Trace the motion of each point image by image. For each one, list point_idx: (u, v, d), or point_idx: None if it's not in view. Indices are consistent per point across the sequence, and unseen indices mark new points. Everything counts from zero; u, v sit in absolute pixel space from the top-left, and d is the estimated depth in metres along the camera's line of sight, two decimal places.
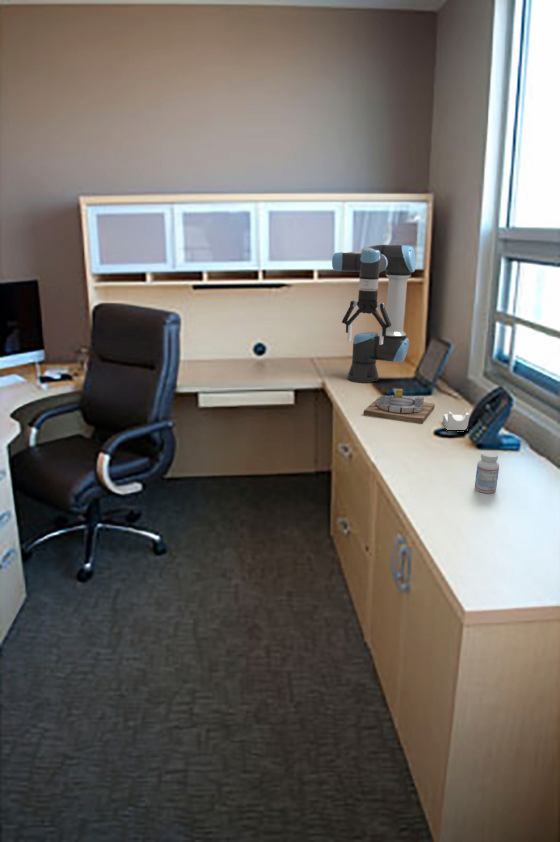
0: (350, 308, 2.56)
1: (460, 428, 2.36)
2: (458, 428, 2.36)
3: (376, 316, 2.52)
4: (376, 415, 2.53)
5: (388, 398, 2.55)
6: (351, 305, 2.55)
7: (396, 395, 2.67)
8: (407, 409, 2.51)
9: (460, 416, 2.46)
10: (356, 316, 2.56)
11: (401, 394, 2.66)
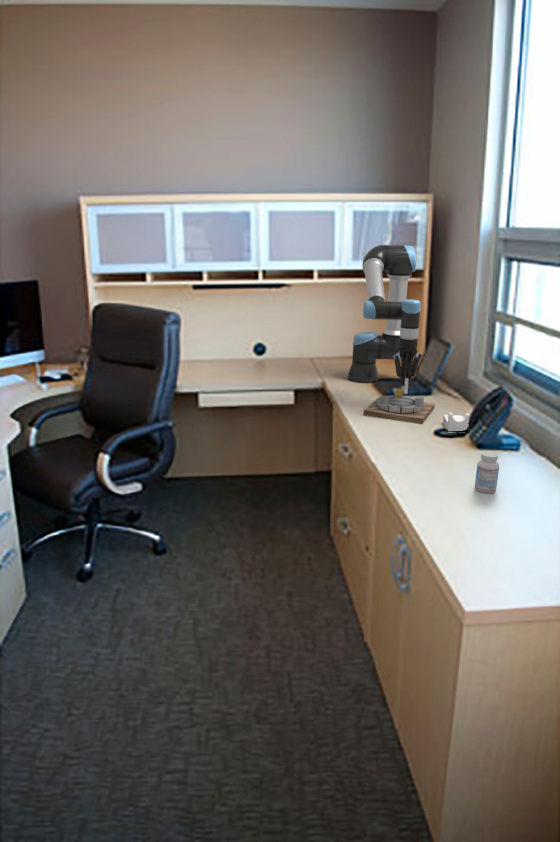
0: None
1: (460, 429, 2.35)
2: (459, 429, 2.35)
3: None
4: (376, 415, 2.53)
5: (388, 398, 2.55)
6: None
7: (396, 395, 2.67)
8: (407, 409, 2.51)
9: (460, 417, 2.45)
10: (407, 365, 2.65)
11: (401, 394, 2.66)
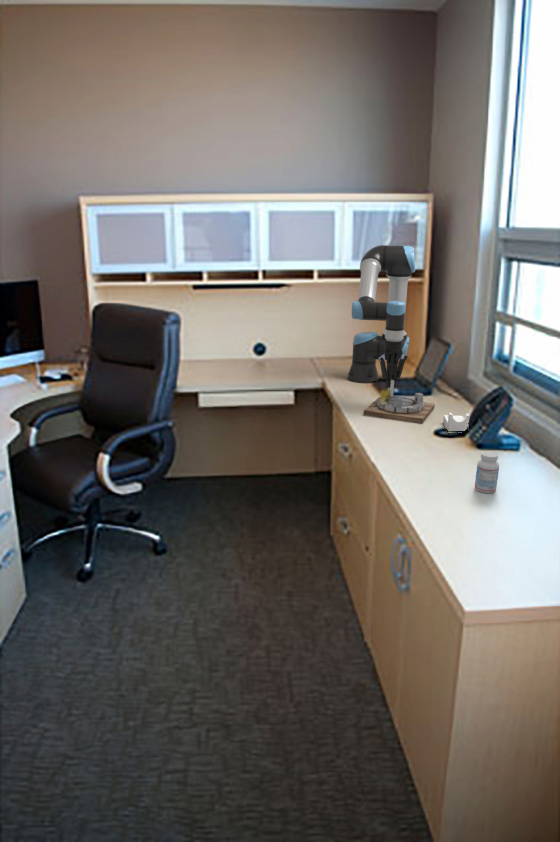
0: None
1: (460, 429, 2.35)
2: (459, 429, 2.35)
3: None
4: (376, 415, 2.53)
5: (402, 400, 2.52)
6: None
7: (386, 396, 2.64)
8: (421, 407, 2.55)
9: (460, 417, 2.44)
10: (393, 367, 2.63)
11: (389, 394, 2.65)
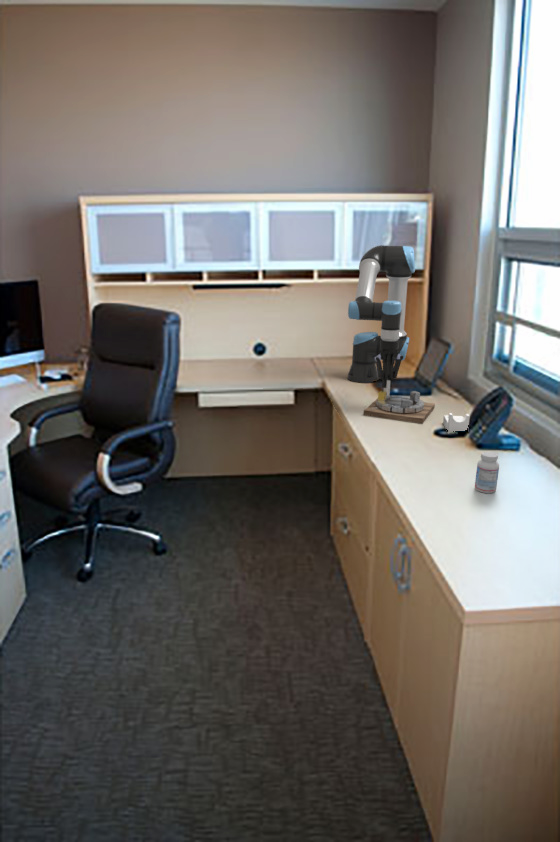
0: None
1: (461, 429, 2.34)
2: (459, 429, 2.34)
3: None
4: (376, 415, 2.53)
5: None
6: None
7: (384, 398, 2.62)
8: (423, 405, 2.58)
9: (460, 417, 2.44)
10: (389, 367, 2.62)
11: (385, 395, 2.64)
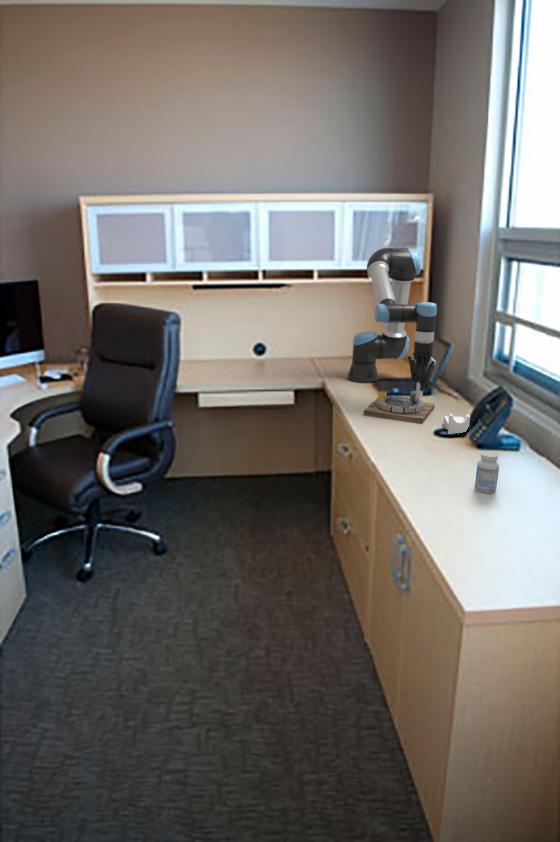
0: None
1: (461, 430, 2.33)
2: (459, 430, 2.33)
3: None
4: (376, 415, 2.53)
5: None
6: None
7: (384, 398, 2.62)
8: (423, 405, 2.58)
9: (461, 418, 2.43)
10: None
11: (385, 395, 2.64)
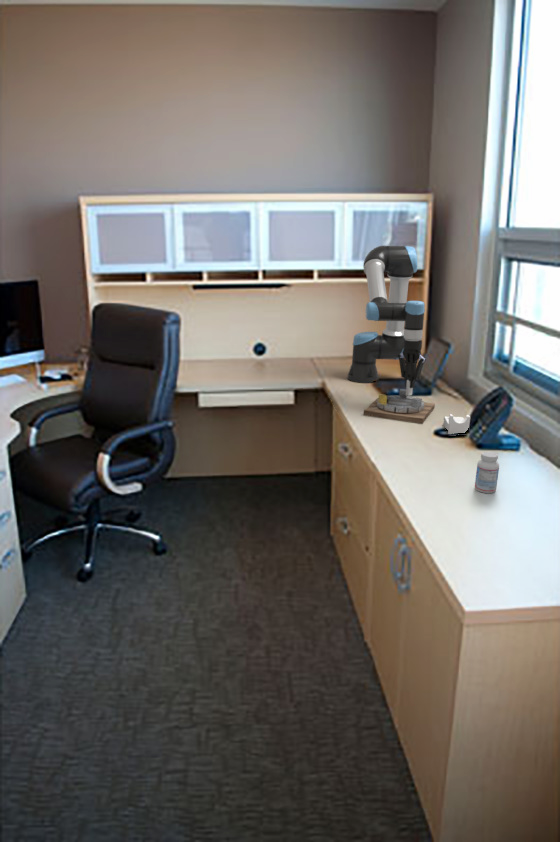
0: None
1: (461, 430, 2.33)
2: (459, 430, 2.33)
3: None
4: (376, 415, 2.53)
5: None
6: None
7: None
8: None
9: (461, 418, 2.43)
10: None
11: None
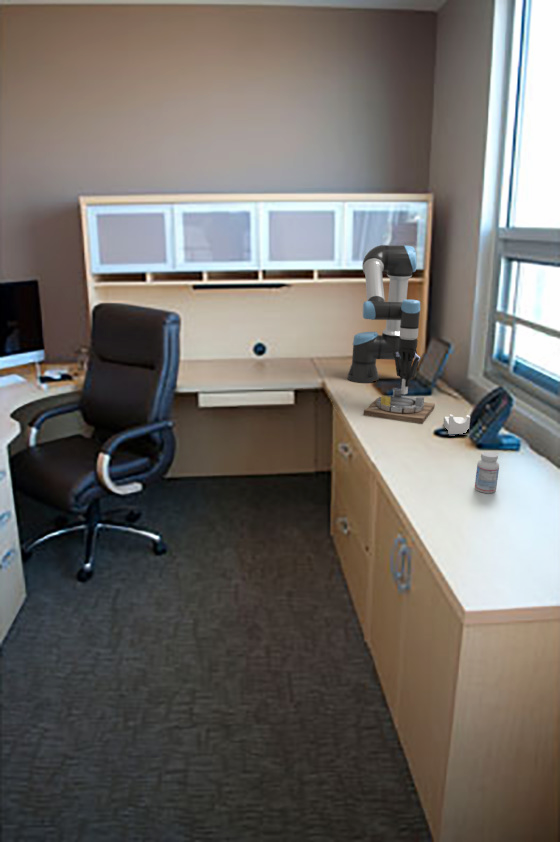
0: None
1: (461, 431, 2.33)
2: (460, 430, 2.33)
3: None
4: (376, 415, 2.53)
5: None
6: None
7: None
8: None
9: (461, 418, 2.42)
10: None
11: None
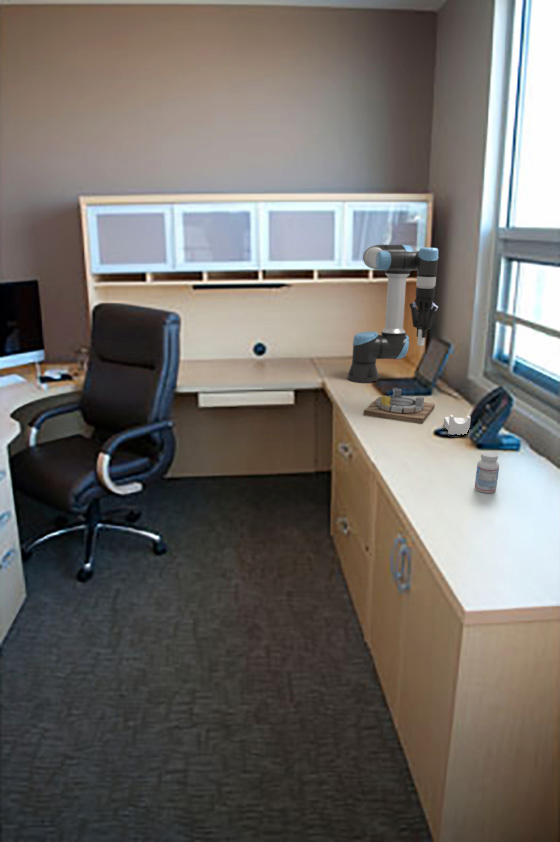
0: None
1: (462, 431, 2.32)
2: (460, 431, 2.32)
3: None
4: (376, 415, 2.53)
5: None
6: None
7: None
8: None
9: (461, 419, 2.42)
10: None
11: None
